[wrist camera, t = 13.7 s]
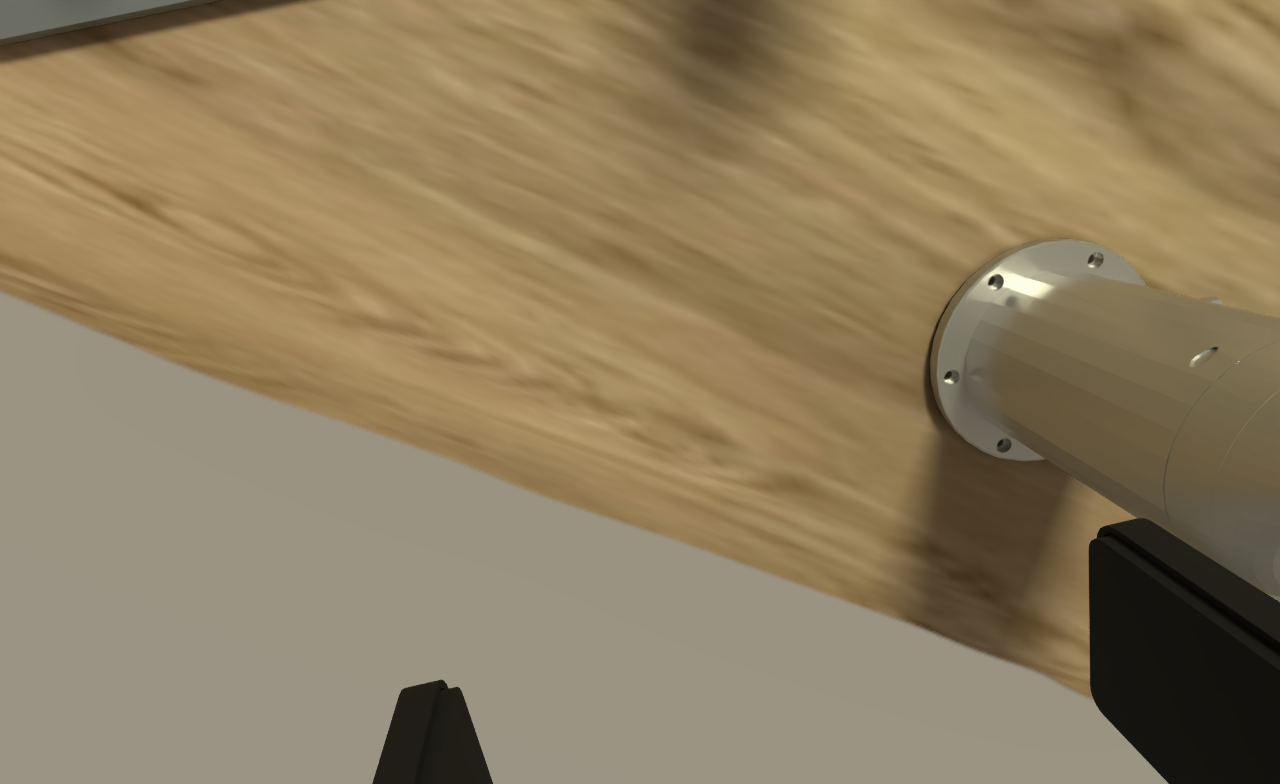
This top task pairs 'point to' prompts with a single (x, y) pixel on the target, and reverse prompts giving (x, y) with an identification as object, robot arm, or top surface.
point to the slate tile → (74, 15)
